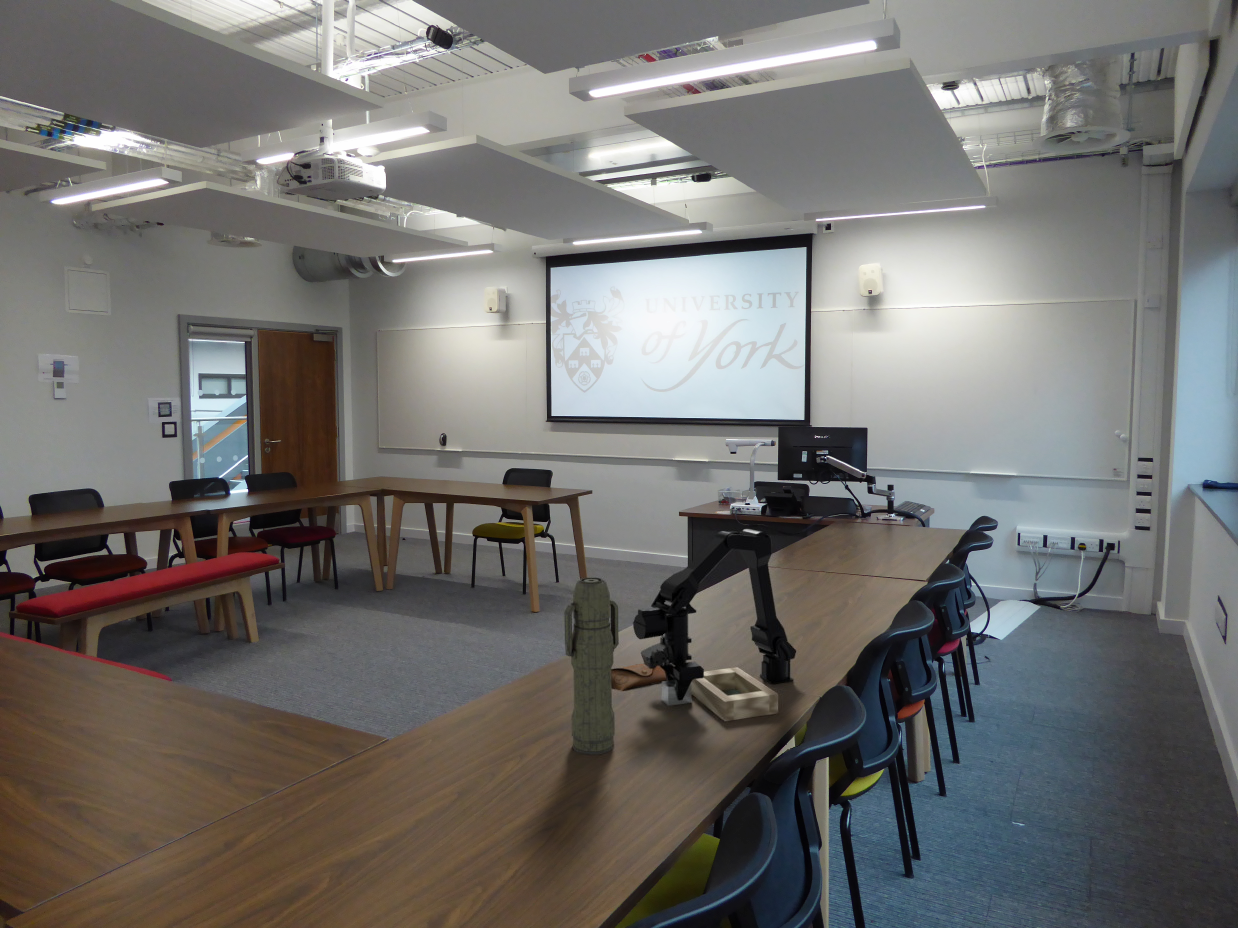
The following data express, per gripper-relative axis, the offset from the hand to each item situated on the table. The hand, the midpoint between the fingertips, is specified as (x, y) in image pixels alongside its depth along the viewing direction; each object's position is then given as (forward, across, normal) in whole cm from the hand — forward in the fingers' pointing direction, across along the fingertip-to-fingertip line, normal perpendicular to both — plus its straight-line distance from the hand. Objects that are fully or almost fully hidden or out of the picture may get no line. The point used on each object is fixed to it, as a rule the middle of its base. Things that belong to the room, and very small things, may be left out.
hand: (676, 696), depth 190 cm
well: (+1, +5, +12) cm, 13 cm away
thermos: (+1, +17, -26) cm, 31 cm away
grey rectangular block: (+1, 0, 0) cm, 1 cm away
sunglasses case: (+2, -16, -3) cm, 17 cm away
